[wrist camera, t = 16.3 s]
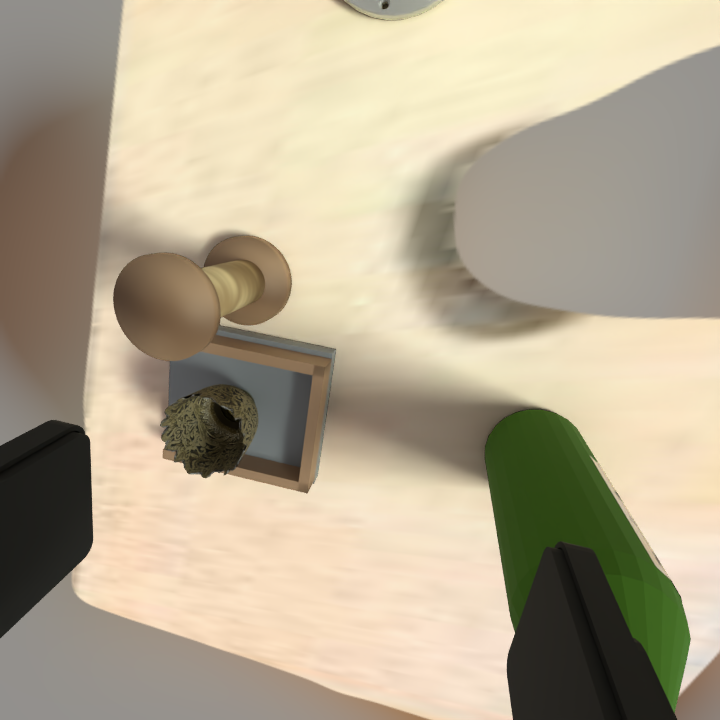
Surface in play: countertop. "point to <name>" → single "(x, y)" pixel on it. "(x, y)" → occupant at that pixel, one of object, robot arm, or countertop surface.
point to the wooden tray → (267, 400)
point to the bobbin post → (199, 295)
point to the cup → (211, 429)
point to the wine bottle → (579, 531)
